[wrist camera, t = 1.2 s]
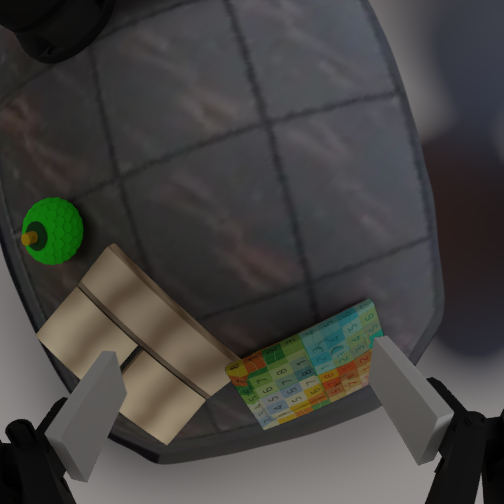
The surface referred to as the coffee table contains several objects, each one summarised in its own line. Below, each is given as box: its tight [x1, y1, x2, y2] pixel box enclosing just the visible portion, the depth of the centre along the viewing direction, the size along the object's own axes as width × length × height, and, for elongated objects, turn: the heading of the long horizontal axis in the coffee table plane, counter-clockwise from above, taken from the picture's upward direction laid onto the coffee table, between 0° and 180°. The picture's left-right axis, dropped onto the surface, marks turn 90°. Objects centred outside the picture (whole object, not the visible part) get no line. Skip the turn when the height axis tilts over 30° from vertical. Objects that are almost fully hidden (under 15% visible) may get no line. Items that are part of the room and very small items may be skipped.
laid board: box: [78, 243, 241, 399], centre depth 39 cm, size 23×7×2 cm, turn 45°
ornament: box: [21, 197, 84, 265], centre depth 32 cm, size 8×8×10 cm
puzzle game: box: [225, 298, 384, 430], centre depth 39 cm, size 12×5×20 cm
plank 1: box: [36, 287, 138, 380], centre depth 36 cm, size 11×9×2 cm
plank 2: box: [119, 348, 206, 445], centre depth 38 cm, size 11×9×2 cm
